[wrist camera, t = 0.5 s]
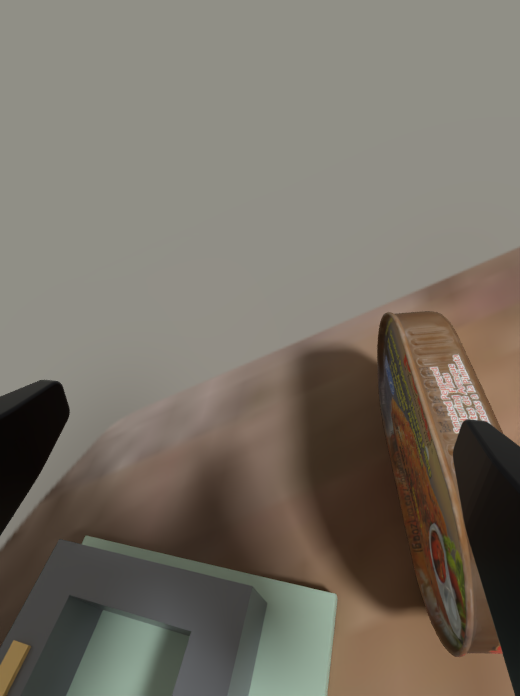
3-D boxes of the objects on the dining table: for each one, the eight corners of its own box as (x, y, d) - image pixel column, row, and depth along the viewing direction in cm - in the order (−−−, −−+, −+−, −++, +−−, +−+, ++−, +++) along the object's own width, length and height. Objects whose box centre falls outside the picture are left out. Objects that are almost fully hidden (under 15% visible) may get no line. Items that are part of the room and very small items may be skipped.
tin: (373, 381, 27) (371, 279, 21) (423, 375, 26) (435, 270, 20) (435, 670, 16) (465, 633, 10) (519, 671, 16) (603, 633, 10)
